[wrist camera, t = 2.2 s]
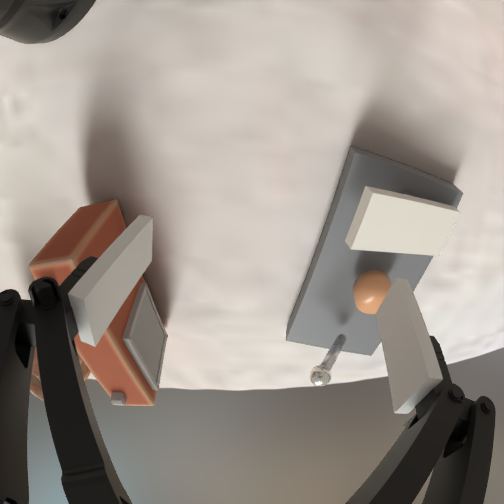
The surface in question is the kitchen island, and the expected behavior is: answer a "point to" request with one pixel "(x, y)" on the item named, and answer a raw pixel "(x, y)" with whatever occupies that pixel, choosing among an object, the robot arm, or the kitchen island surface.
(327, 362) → the toggle lever
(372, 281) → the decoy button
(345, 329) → the switch panel
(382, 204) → the rocker switch
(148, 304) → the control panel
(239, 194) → the kitchen island surface
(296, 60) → the kitchen island surface
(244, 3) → the kitchen island surface
